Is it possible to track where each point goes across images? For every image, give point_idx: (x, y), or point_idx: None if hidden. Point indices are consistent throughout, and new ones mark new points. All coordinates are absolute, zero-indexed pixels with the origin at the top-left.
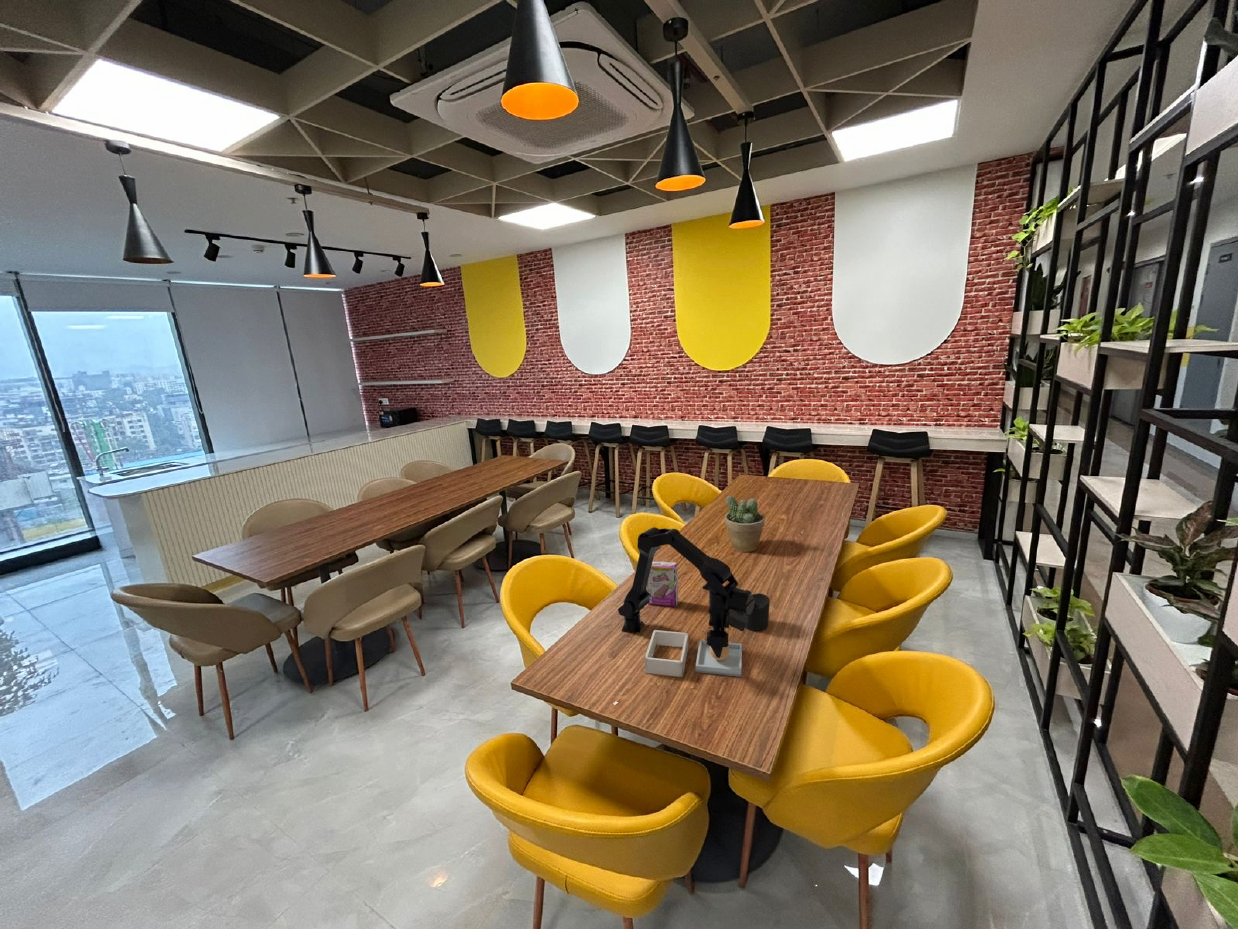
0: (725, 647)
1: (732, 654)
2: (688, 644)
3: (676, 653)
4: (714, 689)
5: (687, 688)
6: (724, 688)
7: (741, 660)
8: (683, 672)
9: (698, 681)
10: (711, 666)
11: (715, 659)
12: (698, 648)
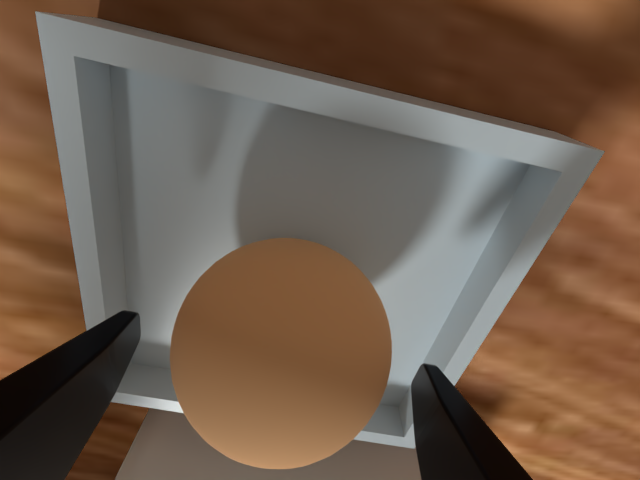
0: (345, 358)
1: (229, 160)
2: (142, 423)
3: None
4: (602, 340)
5: (530, 443)
6: (626, 285)
7: (415, 104)
8: (401, 449)
9: (492, 400)
10: (447, 377)
11: None
12: None
